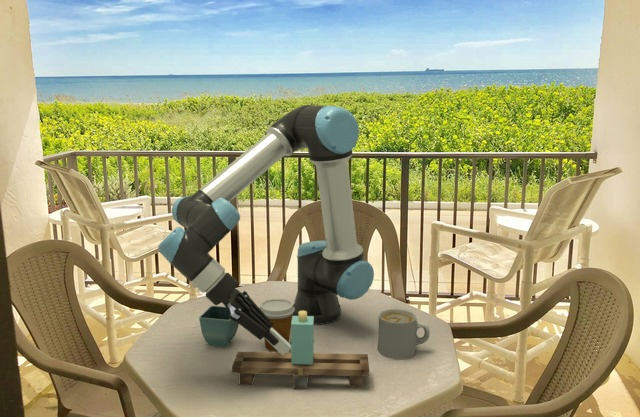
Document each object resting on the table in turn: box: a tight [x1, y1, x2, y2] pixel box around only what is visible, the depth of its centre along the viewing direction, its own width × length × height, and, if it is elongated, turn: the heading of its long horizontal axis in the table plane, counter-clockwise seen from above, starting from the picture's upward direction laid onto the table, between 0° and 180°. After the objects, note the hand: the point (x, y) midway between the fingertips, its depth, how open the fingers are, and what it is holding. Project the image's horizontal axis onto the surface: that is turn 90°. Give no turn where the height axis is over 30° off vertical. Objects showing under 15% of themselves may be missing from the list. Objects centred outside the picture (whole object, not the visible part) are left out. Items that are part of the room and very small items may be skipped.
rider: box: [290, 311, 315, 365], centre depth 136 cm, size 5×5×13 cm
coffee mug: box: [377, 308, 431, 360], centre depth 152 cm, size 13×10×10 cm
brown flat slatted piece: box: [231, 351, 370, 390], centre depth 137 cm, size 32×9×5 cm, turn 88°
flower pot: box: [198, 305, 240, 348], centre depth 156 cm, size 9×9×9 cm
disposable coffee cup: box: [259, 298, 294, 352], centre depth 154 cm, size 10×10×12 cm
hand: (287, 350), depth 136 cm, fingers closed
